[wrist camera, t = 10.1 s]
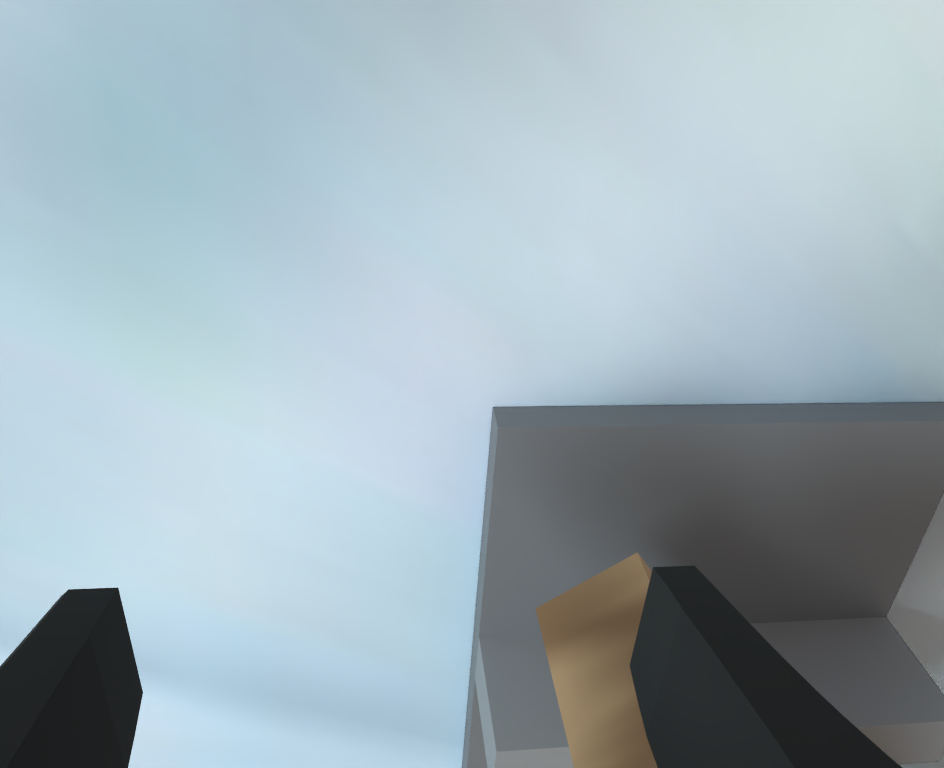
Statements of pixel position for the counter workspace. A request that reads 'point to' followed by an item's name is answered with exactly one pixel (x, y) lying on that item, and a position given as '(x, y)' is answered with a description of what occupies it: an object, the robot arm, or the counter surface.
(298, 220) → the counter surface
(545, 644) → the wooden block
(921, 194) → the counter surface
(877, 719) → the stand
